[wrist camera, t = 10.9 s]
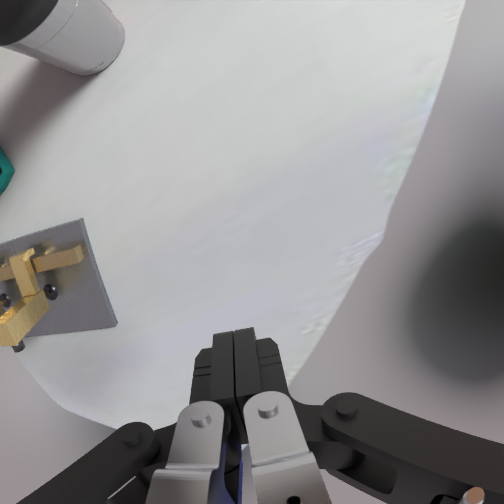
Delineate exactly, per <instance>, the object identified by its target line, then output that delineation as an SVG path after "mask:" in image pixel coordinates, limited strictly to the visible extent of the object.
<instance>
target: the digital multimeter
mask: <svg viewBox="0 0 504 504" xmlns="http://www.w3.org/2000/svg"><path fill="white" fill-rule="evenodd" d="M13 173H14V168H13V166H12V165H11V163H10V162H9V160H8V159H7V157H6V156H5V154H4V153H3V151H2V149H1V148H0V195H1V194H2V193H3V192H4V190H5V189H6V187H7V186H8V184H9V182H10V180H11V178H12V175H13Z"/></svg>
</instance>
